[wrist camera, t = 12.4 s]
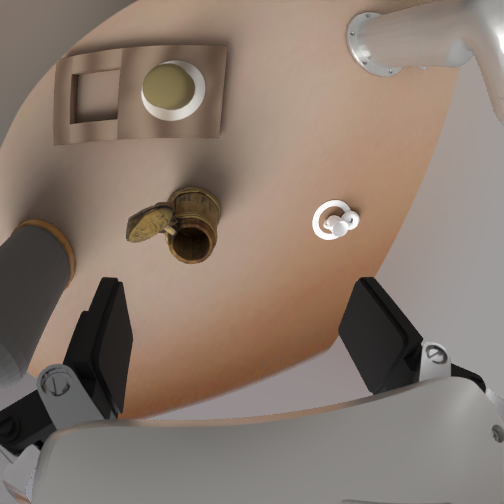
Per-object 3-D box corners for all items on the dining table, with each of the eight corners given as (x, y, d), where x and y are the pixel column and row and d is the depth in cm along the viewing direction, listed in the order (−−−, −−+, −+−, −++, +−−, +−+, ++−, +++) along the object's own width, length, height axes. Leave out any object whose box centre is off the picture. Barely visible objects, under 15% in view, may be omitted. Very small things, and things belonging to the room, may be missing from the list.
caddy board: (226, 49, 34) (228, 46, 32) (218, 136, 41) (219, 138, 38) (63, 61, 29) (55, 59, 27) (60, 143, 36) (53, 146, 33)
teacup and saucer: (360, 210, 52) (370, 219, 49) (339, 245, 55) (348, 255, 52) (325, 192, 49) (334, 199, 45) (303, 229, 52) (311, 240, 49)
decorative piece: (30, 202, 39) (-73, 306, 13) (89, 256, 46) (28, 394, 21) (3, 256, 42) (-70, 359, 16) (55, 302, 50) (7, 421, 24)
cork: (190, 113, 36) (186, 115, 26) (148, 107, 34) (130, 109, 25) (199, 73, 33) (199, 61, 24) (157, 67, 32) (142, 55, 22)
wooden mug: (173, 155, 41) (157, 188, 26) (231, 212, 48) (249, 272, 32) (135, 194, 43) (103, 247, 28) (193, 246, 49) (193, 316, 34)
